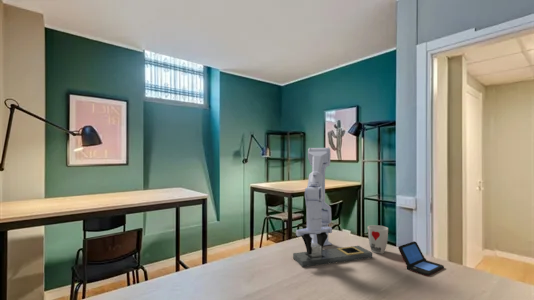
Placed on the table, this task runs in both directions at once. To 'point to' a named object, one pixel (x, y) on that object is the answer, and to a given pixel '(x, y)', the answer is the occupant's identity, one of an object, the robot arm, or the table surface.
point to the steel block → (315, 251)
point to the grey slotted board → (333, 256)
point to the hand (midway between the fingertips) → (314, 252)
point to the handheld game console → (418, 260)
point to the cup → (377, 238)
